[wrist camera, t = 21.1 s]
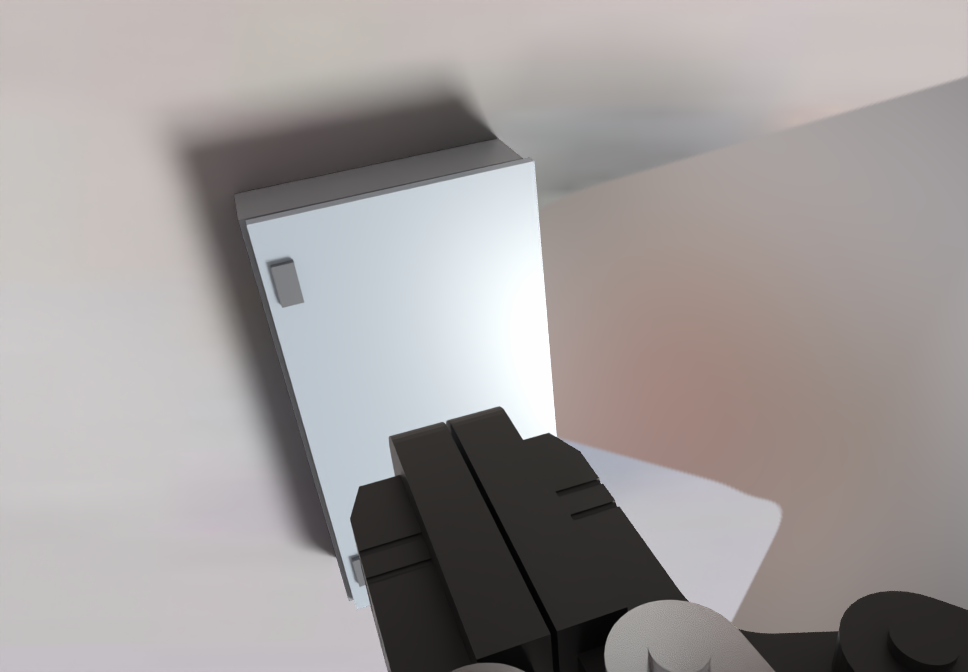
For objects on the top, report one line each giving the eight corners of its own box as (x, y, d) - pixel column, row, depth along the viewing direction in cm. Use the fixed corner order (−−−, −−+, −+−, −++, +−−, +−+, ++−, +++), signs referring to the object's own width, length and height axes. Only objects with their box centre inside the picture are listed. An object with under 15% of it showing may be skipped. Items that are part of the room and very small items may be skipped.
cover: (354, 602, 46) (357, 613, 46) (245, 220, 34) (246, 227, 33) (560, 533, 49) (566, 543, 48) (529, 157, 37) (536, 162, 36)
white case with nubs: (339, 559, 49) (349, 601, 47) (234, 194, 37) (238, 220, 34) (535, 497, 52) (555, 533, 49) (498, 138, 40) (522, 158, 37)
